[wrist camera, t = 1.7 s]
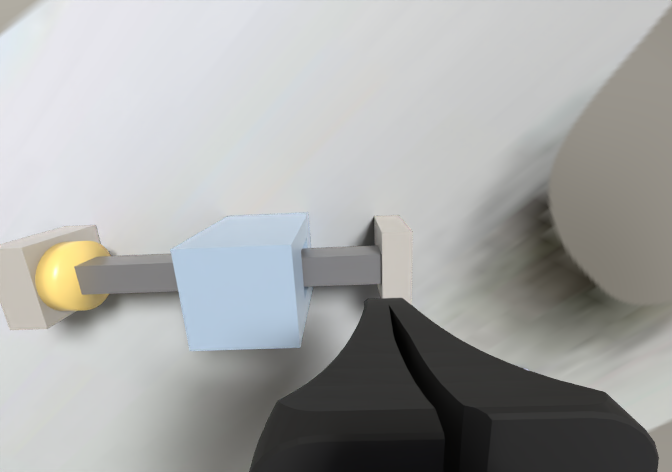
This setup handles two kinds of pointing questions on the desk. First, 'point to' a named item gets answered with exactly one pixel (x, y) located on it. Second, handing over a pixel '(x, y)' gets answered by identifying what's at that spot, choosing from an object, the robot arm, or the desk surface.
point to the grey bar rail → (168, 271)
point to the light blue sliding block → (244, 283)
